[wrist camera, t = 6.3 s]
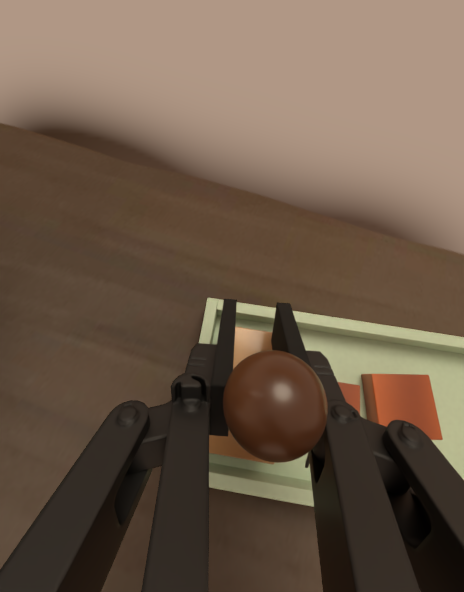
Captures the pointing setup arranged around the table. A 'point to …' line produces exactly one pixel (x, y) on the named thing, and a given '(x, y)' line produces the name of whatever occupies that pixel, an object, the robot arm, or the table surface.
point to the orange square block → (401, 401)
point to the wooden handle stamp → (269, 403)
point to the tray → (347, 369)
